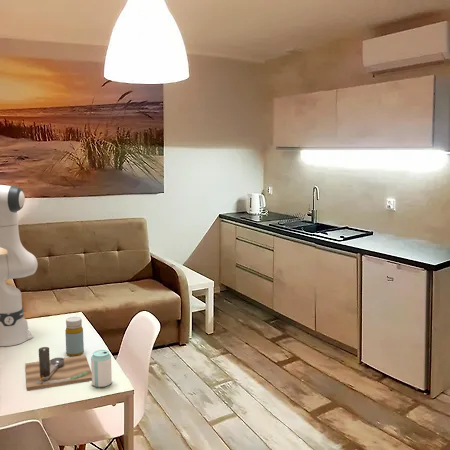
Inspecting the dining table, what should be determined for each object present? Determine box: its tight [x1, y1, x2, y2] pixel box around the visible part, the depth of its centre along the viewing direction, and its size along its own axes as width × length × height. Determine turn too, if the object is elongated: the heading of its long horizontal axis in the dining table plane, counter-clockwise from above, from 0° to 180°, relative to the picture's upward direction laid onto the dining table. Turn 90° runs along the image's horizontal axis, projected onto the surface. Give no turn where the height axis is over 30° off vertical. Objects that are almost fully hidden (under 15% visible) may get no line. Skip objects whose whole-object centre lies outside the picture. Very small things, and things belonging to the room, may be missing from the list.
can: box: [90, 349, 113, 388], centre depth 189 cm, size 7×7×12 cm
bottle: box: [65, 316, 85, 357], centre depth 215 cm, size 7×7×15 cm
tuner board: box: [24, 354, 92, 392], centre depth 198 cm, size 22×23×1 cm
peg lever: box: [38, 346, 64, 380], centre depth 194 cm, size 18×5×12 cm, turn 177°
